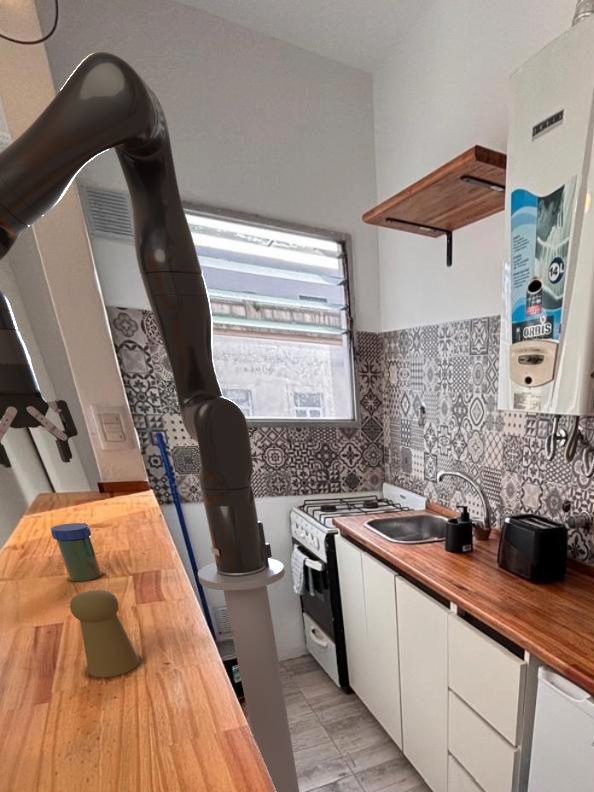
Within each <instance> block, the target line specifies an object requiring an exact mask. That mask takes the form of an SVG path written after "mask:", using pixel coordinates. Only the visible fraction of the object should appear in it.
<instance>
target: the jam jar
mask: <svg viewBox="0 0 594 792" xmlns="http://www.w3.org/2000/svg"><path fill="white" fill-rule="evenodd" d="M56 543H57V546H58V548H59V552H60V555H61V559H62V561H63V563H64V566H65V569H66V572H67V575H68V578H69V581H72V582H88V581H91V580H92V581H93V580H96V579H98V578H100V577H102V570H101V567H100V564H99V561H98V558H97V555H96V551H95V548H94V545H93V541H92V539H91V536H89V537H86V538H83V539H78V540H68V541H61V540H56Z"/></svg>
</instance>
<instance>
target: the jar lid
mask: <svg viewBox="0 0 594 792" xmlns="http://www.w3.org/2000/svg"><path fill="white" fill-rule="evenodd" d="M50 533H51V536H52V539H54V540H55V541H57V540H61V541H68V540H78V539H83V538H86V537H89V536H90V537H91V536H92V531H91V528H90V525H89V524H87V523H83V522H73V523H72V522H71V523H70V522H69V523H63V524H58V525H53V526H52V527H50Z"/></svg>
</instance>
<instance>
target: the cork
mask: <svg viewBox="0 0 594 792" xmlns="http://www.w3.org/2000/svg"><path fill="white" fill-rule="evenodd" d="M69 609H70V612H71V614H72V615H73V617H74V618H75V619H76V620H78V621H79V622H80V623H79V624H80V628H81V629H80V630H81V634H82V640H83V648H84V653H85V659H86V665H87V671H88V674H89V675H90V676H92V677H94V678H110V677H114V676H115V677H116V676H120V675H122V674H126V673H128V672H130V671H133V670H134V669H135V668H136V667H138V666H139V664H140V658H139V656H138V654H137V652H136V650H135V648H134V646H133V644H132V642H131V639H130V638H129V636H128V634H127V632H126V630H125V628H124V626H123V623H122V622H121V620H120V617H119V616H118V612H119V601H118V598H117V597H116V596H115V595H114V593H112V592H111V591H108V590H104V589H95V590H88V591H84V592H81V593H78V594H76V595H74V596H73V597H72V598H71V599H70V602H69Z"/></svg>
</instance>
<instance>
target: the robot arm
mask: <svg viewBox="0 0 594 792" xmlns="http://www.w3.org/2000/svg"><path fill="white" fill-rule="evenodd" d="M171 144H172V143H171V138H170V130H169V126H168V121H167V117H166V114H165V111H164V108H163V107H162V104H161V102H160V100H159V98H158V97H157V95H156V94H155V92H154V91H153V90H152V88H151V87H150V86H149V84H148V83H147V82H146V81H145V80H144V79H143V78H142V76H141V75H140V74H139V73H138V72H137V70H136V69H135V68H133V67H132V65H130V64H129V63H128V62H127V61H126V60H124V59H123V58H122V57H119V56H118V55H116V54H114V53H110V52H108V51H107V52H106V51H96V52H93V53H90V54H89V55H88V56H86V57H85V58H84V59H83V60H82V61H81V62H80V63H79V64H78V66H77V67H76V68H75V70H74V71H73V72H72V73H71V75H69V77H68V79H66V82H65V83H64V84H63V86H62V87H61V88H60V90H59V91H58V93H57V94H56V95H55V97H54V98H53V99H52V101H50V103H48V105H47V106H46V107H45V109H44V110H43V111H42V112H41V113H40V114H39V116H38V117H37V118H36V119H35V120H34V121H33V122H32V123H31V124H30V125H29V126H28V127H27V129H25V131H24V132H22V133H21V134H20V135H19V136H18V137H17V138H16V139H15V140H14V141H12V143H11V144H9V145H7V147H5V148H4V149H3V150H2V151H1V152H0V262H1V261H2V260H3V259H4V258H5V257H6V256H7V255H8V254H9V252H10V251H11V250H12V248H13V247H14V245H15V244H16V242H17V241H18V240H19V238H20V236H21V234H22V233H23V231H25V230H27V229H28V228H30V227H31V226H33V224H35V223H36V222H38V220H40V219H41V218H43V217H44V216H45V215H46V214H48V213H49V212H50V211H51V210H52V209H53V208H55V207H56V206H57V205H58V204H59V202H60V201H61V200H62V198H63V197H64V195H65V194H66V192H67V191H68V189H69V187H70V185H71V184H72V182H73V180H75V177H76V176H77V175H78V173H79V172H80V171H81V170H82V168H84V167H85V166H86V165H87V164H88V163H89V162H90V161H92V160H94V158H95V157H97V156H98V155H100V154H102V153H104V152H106V151H109V150H111V149H114V152H115V154H116V157H117V159H118V162H119V165H120V168H121V171H122V173H123V178H124V181H125V182H126V186H127V190H128V193H129V197H130V202H131V209H132V219H133V238H134V239H133V240H134V249H135V250H134V251H135V256H136V261H137V265H138V266H137V267H138V271H139V274H140V277H141V280H142V284H143V287H144V289H145V293H146V297H147V301H148V304H149V306H150V309H151V313H152V314H153V318H154V320H155V324H156V326H157V330H158V334H159V336H160V339H161V342H162V345H163V348H164V350H165V354H166V356H167V359H168V362H169V365H170V369H171V373H172V377H173V382H174V386H175V392H176V396H177V397H176V398H177V402H178V407H179V412H180V417H181V421H182V424H183V427H184V429H185V430H186V433H187V435H189V437H190V438H191V439H193V440H194V441H195V442H197V446H198V451H199V459H200V469H199V471H198V475H197V476H198V481H199V486H200V490H201V491H200V492H201V496H202V502H203V506H204V510H205V515H206V519H207V520H206V521H207V526H208V530H209V535H210V541H211V546H210V549H211V550H210V551H211V553H212V554H213V556H214V560H215V561H214V562H216V566H217V572H218V573H219V574H220V575H224V576H230V577H239V576H248V575H253V574H257V573H259V572H262V571H263V570H265V568H266V567H269V561H268V558H270V559H271V558H272V557H273V555H272V549H271V548H272V547H271V544H270V543H268V542H266V535H265V531H264V524H263V522H262V521H259V519H258V518H259V517H258V512H257V506H256V499H255V493H254V487H253V481H252V475H253V471H254V462H253V452H252V444H251V439H250V438H251V436H250V430H249V425H248V421H247V418H246V416H245V413H244V412H243V410H242V408H240V406H239V405H238V404H236V402H234V401H233V400H231V399H229V398H227V397H224V395H223V392H222V389H221V386H220V382H219V380H218V376H217V373H216V368H215V364H214V357H213V356H214V355H213V316H212V308H211V302H210V297H209V293H208V290H207V285H206V281H205V277H204V273H203V270H202V267H201V263H200V259H199V256H198V252H197V249H196V245H195V243H194V239H193V236H192V235H193V234H192V232H191V228H190V225H189V222H188V219H187V215H186V213H185V209H184V206H183V203H182V199H181V195H180V189H179V184H178V180H177V179H178V178H177V173H176V168H175V162H174V156H173V149H172V145H171ZM49 408H50V409H51V410H52V412H54V413H55V414H58V416H59V419H60V421H61V425H62V427H63V430H61V429H60V428H59V427H57V426H56V424H54V423H53V422H52V421H50V419H48V418H47V417H46V416H47V413H48V412H49ZM38 427H41V428H42V429H43V430H45V431H47V432H48V433H49V434H50V435H51V436H53V437H54V438H55V439H56V440H54V441H55V444H56V447H57V451H58V453H59V457H60V459H61V461H62V463H66V464H67V463H71V460H72V459H73V453H72V450H71V447H70V444H69V439H70V438H73V437H77V436H78V435H79V432H78V430H77V426H76V424H75V421H74V418H73V416H72V414H71V411H70V408H69V405H68V403H67V401H65V400H63V399H55V400H45V398H44V397H43V395H42V391H41V388H40V386H39V383H38V379H37V376H36V373H35V371H34V368H33V364H32V359H31V356H30V354H29V352H28V349H27V347H26V344H25V342H24V340H23V338H22V335H21V333H20V331H19V328H18V325H17V322H16V318H15V315H14V312H13V310H12V307H11V304H10V302H9V299H8V298H7V296H6V294H5V293H4V292H3V291H2V290H1V289H0V465H1V466H3V468H6V469H9V468H12V464H11V461H10V459H9V456H8V454H7V451H6V448H5V444H3V443H1V442H2V440H3V438H4V436H5V435H6V434H7V432H8V430H9V428H12V429H24V428H30V429H35V428H36V429H38Z"/></svg>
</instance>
